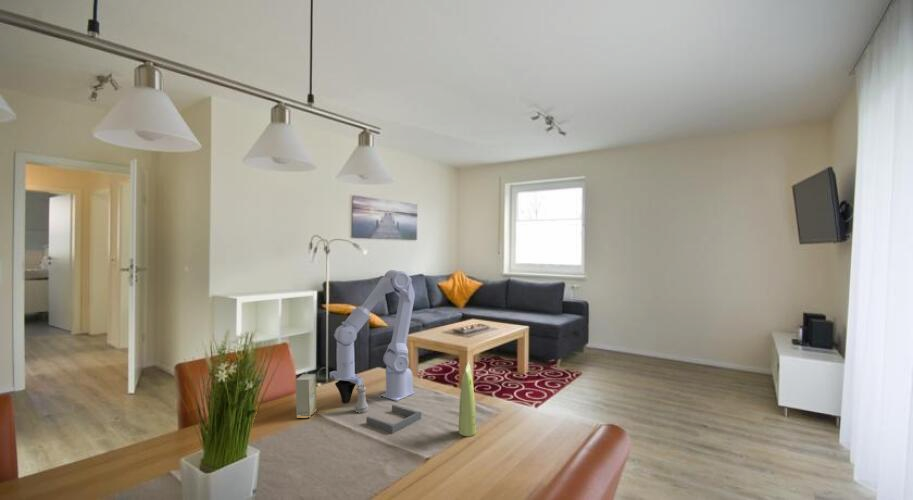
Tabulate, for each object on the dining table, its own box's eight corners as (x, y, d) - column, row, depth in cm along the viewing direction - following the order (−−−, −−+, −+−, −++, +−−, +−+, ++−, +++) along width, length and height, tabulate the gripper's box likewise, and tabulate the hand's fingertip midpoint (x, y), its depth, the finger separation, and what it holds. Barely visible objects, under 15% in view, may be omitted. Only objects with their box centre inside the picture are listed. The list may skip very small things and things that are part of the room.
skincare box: (309, 419, 129) (309, 379, 129) (295, 419, 129) (294, 379, 129) (317, 410, 136) (316, 373, 135) (303, 410, 136) (302, 373, 136)
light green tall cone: (481, 434, 118) (480, 365, 117) (466, 439, 115) (465, 368, 114) (469, 427, 122) (468, 360, 122) (454, 431, 119) (454, 363, 119)
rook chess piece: (362, 407, 138) (362, 382, 138) (371, 410, 136) (371, 385, 135) (351, 411, 135) (351, 386, 135) (360, 414, 132) (360, 389, 132)
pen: (394, 410, 135) (394, 404, 135) (421, 418, 129) (421, 412, 129) (365, 424, 125) (365, 417, 125) (392, 433, 119) (392, 426, 119)
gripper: (321, 361, 140) (322, 401, 141) (350, 368, 132) (351, 411, 132) (338, 356, 146) (339, 395, 146) (367, 363, 138) (368, 404, 138)
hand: (346, 402), depth 140 cm, fingers closed
